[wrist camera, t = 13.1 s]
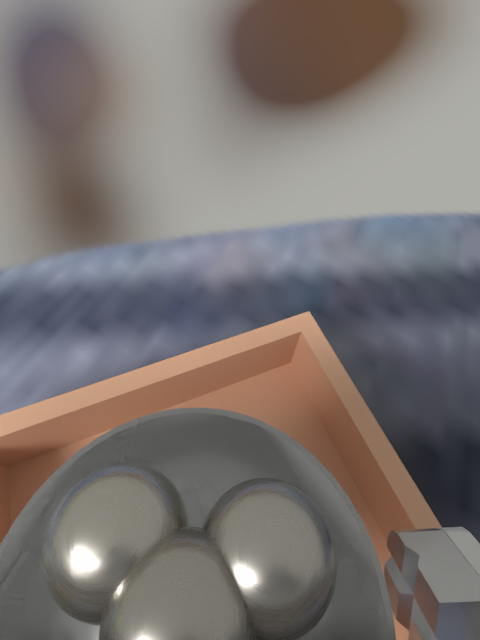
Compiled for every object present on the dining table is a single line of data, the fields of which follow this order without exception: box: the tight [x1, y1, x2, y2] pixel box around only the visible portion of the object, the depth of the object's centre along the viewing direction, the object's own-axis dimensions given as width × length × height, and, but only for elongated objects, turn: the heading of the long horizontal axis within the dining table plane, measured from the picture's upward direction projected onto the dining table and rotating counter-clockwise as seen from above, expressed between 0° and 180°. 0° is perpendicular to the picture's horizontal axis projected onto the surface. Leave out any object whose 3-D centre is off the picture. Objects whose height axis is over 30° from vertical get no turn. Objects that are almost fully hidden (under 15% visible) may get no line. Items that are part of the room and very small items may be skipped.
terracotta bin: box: [0, 311, 442, 640], centre depth 12 cm, size 15×15×4 cm
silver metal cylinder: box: [0, 407, 396, 640], centre depth 8 cm, size 6×6×11 cm
